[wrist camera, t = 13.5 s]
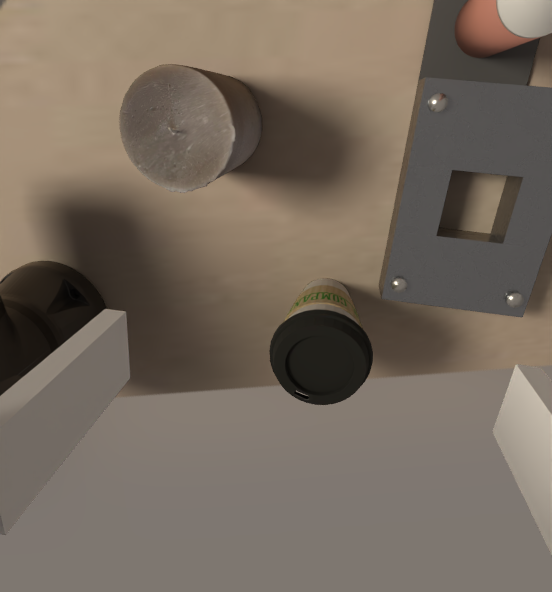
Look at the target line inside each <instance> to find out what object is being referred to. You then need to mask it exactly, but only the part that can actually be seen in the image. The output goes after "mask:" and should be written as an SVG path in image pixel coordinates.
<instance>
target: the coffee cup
mask: <svg viewBox="0 0 552 592" xmlns="http://www.w3.org/2000/svg"><path fill="white" fill-rule="evenodd" d="M372 361H373V351H372V346H371V343H370V340H369V338H368V336H367V334H366V333H365V332H364V330H363V328H362V325H361V323H360V320H359V317H358V314H357V312H356V309H355V306H354V304H353V301H352V300H351V298H350V295H349V293H348V291H347V289H346V288H345V287H344V286H343V285H342V284H341V283H339V282H338V281H335V280H333V279H328V278H322V279H317V280H315V281H312V282H311V283H309V284H308V285H307V286H306V287H305V288H304V290H303V291H302V293H301V295H299V297H298V298H297V300H296V301H295V303H294V305H293V306H292V308H291V310H290V312H289V313H288V315H287V317H286V319H285V320H284V322H283V323H282V324H281V325H280V326H279V327H278V329H277V330H276V332H275V333H274V335H273V338H272V340H271V344H270V362H271V366H272V369H273V372H274V374H275V375H276V377H277V379H278V381H279V382H280V384H281V385H282V387H283V388H284V389H285V390H286V391H287V392H288V393H290V394H291V395H292V396H294V397H295V398H297V399H299V400H301V401H304V402H306V403H311V404H315V405H328V404H334V403H338V402H341V401H343V400H345V399H347V398H349V397H350V396H351V395H353V394H354V393H355V392H356V391H357V390H358V389H359V388H360V386H361V385H362V384H363V383H364V382H365V380H366V379H367V377H368V375H369V373H370V369H371V366H372ZM296 390H297V391H298V392H301V393H303V394H306V395H308V396H305V395H302V394H300V393H298V392H296Z"/></svg>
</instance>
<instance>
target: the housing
mask: <svg viewBox="0 0 552 592" xmlns="http://www.w3.org/2000/svg"><path fill="white" fill-rule="evenodd" d="M452 170H459V171H468V172H478V173H488V174H498V175H507V179H506V183H505V186H504V190H503V193H502V196H501V200H500V203H499V207H498V210H497V214H496V217H495V220H494V224H493V227H492V231H491V234H488V233H479V232H471V231H462V230H453V229H445V228H438V227H439V223H440V219H441V215H442V211H443V206H444V202H445V198H446V194H447V190H448V186H449V181H450V177H451V173H452ZM551 234H552V88H548V87H536V86H524V85H512V84H500V83H488V82H476V81H464V80H452V79H440V78H428V77H425V78H423V79H421V80H419V81H418V86H417V91H416V96H415V101H414V106H413V112H412V117H411V122H410V127H409V132H408V137H407V143H406V148H405V153H404V158H403V163H402V168H401V173H400V179H399V184H398V189H397V194H396V199H395V204H394V209H393V215H392V220H391V225H390V230H389V235H388V240H387V246H386V251H385V256H384V261H383V266H382V271H381V276H380V282H379V290H380V294H381V299H386V300H394V301H402V302H409V303H417V304H424V305H432V306H439V307H447V308H455V309H462V310H470V311H477V312H485V313H492V314H500V315H508V316H515V317H523V315H524V312H525V309H526V306H527V303H528V300H529V297H530V294H531V292H532V289H533V286H534V283H535V280H536V277H537V274H538V272H539V269H540V266H541V263H542V260H543V257H544V254H545V251H546V249H547V246H548V243H549V240H550V237H551Z"/></svg>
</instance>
